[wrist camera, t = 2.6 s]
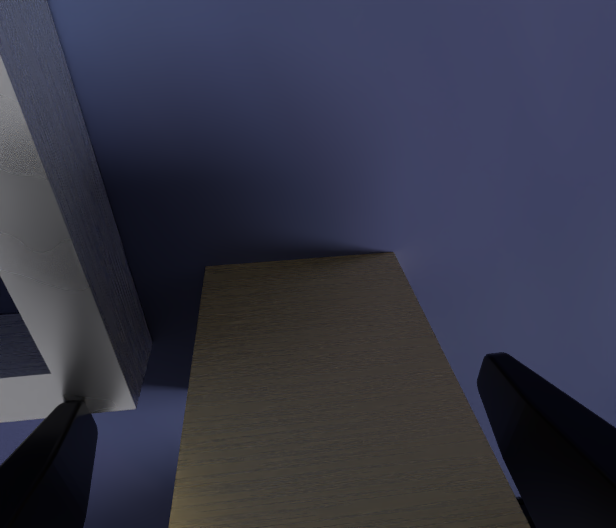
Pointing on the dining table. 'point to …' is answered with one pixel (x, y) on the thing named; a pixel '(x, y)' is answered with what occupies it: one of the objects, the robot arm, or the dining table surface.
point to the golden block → (328, 407)
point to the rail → (58, 240)
